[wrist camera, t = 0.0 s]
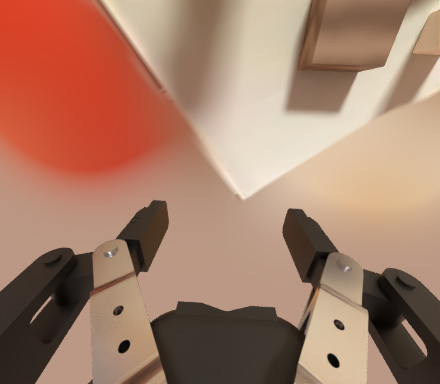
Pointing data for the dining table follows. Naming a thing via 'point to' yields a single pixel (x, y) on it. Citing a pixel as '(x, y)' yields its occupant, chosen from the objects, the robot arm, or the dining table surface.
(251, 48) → the dining table surface
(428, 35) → the cream carton
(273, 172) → the dining table surface
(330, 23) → the walnut block
